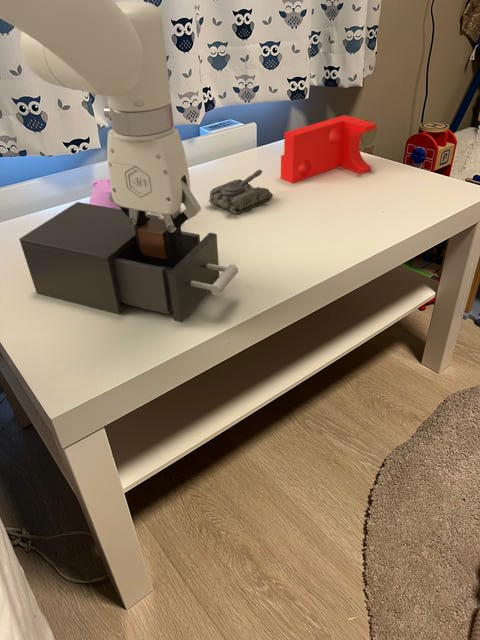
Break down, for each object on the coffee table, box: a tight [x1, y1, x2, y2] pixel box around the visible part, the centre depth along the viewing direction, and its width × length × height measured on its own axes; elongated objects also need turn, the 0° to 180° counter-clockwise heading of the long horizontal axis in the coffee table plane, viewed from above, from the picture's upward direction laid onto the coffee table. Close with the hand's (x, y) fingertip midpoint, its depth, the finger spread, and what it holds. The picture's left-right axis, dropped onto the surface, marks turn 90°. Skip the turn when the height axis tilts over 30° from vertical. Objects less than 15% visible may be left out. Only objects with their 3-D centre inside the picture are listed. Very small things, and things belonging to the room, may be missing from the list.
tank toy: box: [208, 169, 274, 215], centre depth 105 cm, size 12×10×5 cm
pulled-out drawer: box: [112, 230, 239, 323], centre depth 77 cm, size 19×12×8 cm, turn 66°
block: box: [138, 217, 168, 259], centre depth 74 cm, size 4×4×4 cm
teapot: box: [88, 176, 121, 210], centre depth 97 cm, size 10×15×9 cm
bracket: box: [280, 114, 377, 184], centre depth 114 cm, size 18×10×10 cm
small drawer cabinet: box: [19, 201, 160, 315], centre depth 82 cm, size 16×14×10 cm
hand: (160, 248), depth 75 cm, fingers closed on block, 4 cm apart
